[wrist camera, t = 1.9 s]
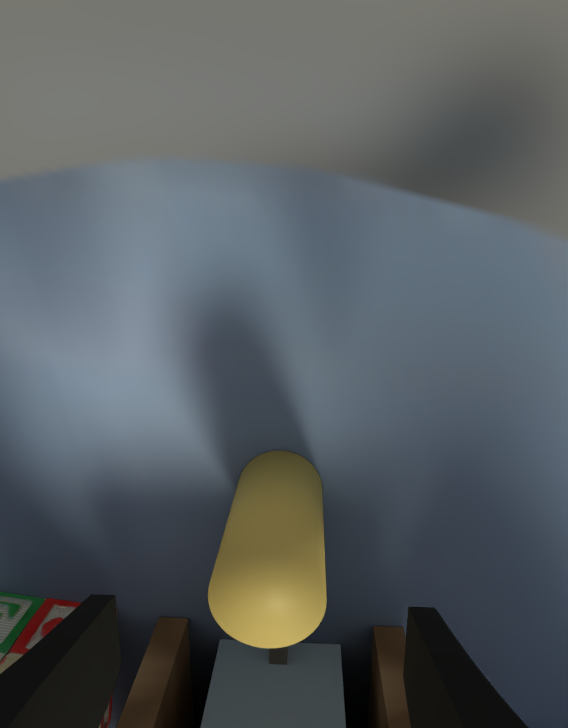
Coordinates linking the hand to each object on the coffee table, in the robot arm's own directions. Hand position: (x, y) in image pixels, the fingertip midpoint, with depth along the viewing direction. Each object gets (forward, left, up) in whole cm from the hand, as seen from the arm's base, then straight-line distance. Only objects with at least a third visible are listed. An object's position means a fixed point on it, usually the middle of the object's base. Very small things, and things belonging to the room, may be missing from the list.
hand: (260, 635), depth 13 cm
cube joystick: (0, +5, -7) cm, 9 cm away
